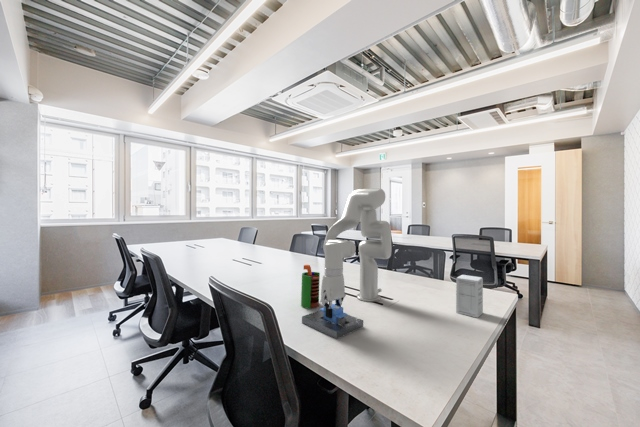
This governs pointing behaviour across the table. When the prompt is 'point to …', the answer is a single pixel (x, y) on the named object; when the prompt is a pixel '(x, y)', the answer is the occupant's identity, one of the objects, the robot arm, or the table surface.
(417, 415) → the table surface
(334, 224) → the robot arm
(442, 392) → the table surface
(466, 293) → the supplement box
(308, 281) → the motor
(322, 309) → the servo
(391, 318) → the table surface
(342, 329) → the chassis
